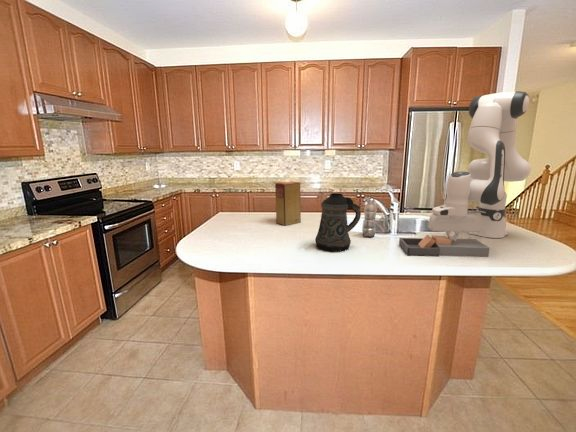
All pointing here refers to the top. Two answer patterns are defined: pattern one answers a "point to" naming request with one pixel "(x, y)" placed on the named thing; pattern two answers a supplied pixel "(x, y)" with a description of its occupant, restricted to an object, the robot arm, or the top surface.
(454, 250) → the plate
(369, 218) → the plastic bottle
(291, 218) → the food packaging
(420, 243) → the tile
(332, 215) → the beer stein
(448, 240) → the tile
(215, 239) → the top surface
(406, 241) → the box
